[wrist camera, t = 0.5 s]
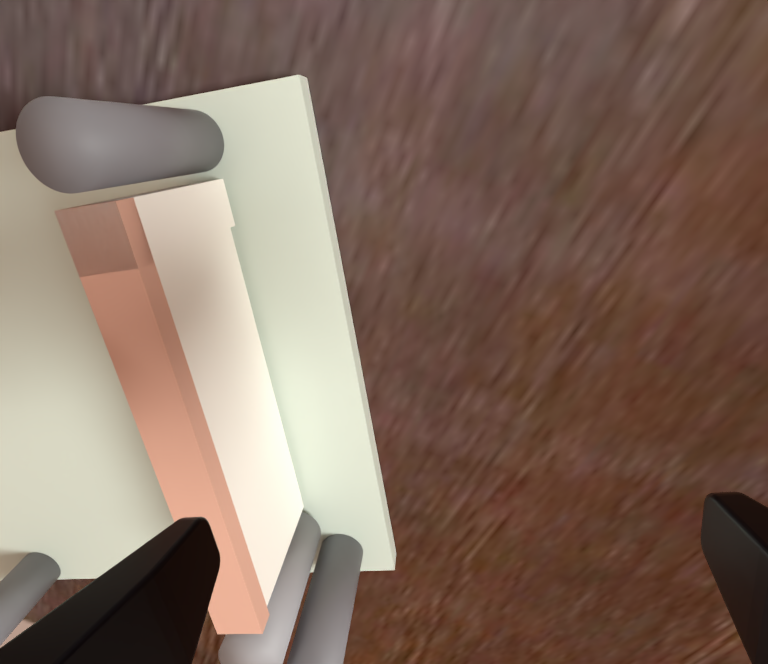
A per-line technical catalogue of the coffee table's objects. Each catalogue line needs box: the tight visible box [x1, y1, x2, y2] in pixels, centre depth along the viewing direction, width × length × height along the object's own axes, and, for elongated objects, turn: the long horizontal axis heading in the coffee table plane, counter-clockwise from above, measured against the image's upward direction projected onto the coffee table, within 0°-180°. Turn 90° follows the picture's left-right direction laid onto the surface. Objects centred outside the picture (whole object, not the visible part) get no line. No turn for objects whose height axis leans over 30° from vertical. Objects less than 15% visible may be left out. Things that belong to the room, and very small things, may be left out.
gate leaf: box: [54, 179, 321, 664], centre depth 17 cm, size 16×2×6 cm, turn 9°
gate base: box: [0, 75, 396, 664], centre depth 19 cm, size 21×22×8 cm
